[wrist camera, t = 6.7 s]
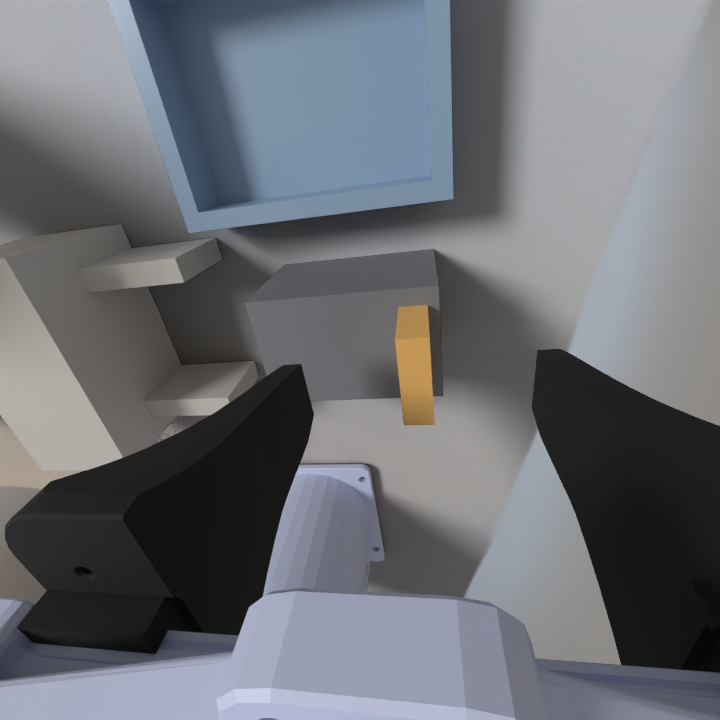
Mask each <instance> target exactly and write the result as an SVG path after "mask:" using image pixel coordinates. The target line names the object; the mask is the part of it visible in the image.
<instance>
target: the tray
mask: <svg viewBox="0 0 720 720" xmlns="http://www.w3.org/2000/svg"><path fill="white" fill-rule="evenodd" d="M108 3H109V6H110V9H111V11H112V14H113V17H114V20H115V23H116V26H117V29H118V32H119V34H120V37H121V40H122V43H123V46H124V49H125V52H126V55H127V57H128V60H129V63H130V66H131V69H132V72H133V75H134V78H135V80H136V83H137V86H138V89H139V92H140V95H141V98H142V101H143V103H144V106H145V109H146V112H147V115H148V118H149V121H150V124H151V126H152V129H153V132H154V135H155V138H156V141H157V144H158V147H159V149H160V152H161V155H162V158H163V161H164V164H165V167H166V170H167V172H168V175H169V178H170V181H171V184H172V187H173V190H174V193H175V195H176V198H177V201H178V204H179V207H180V210H181V213H182V216H183V218H184V221H185V224H186V227H187V230H188V233H194V232H202V231H210V230H217V229H225V228H233V227H241V226H248V225H256V224H264V223H272V222H279V221H287V220H295V219H303V218H310V217H318V216H326V215H334V214H341V213H349V212H357V211H365V210H373V209H380V208H388V207H396V206H404V205H411V204H419V203H427V202H435V201H442V200H450V199H453V147H452V91H451V35H450V0H108Z"/></svg>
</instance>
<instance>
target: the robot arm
mask: <svg viewBox="0 0 720 720" xmlns="http://www.w3.org/2000/svg"><path fill="white" fill-rule="evenodd" d="M532 409H533V413H534V416H535V420H536V423H537V427H538V430H539V433H540V436H541V438H542V441H543V443H544V445H545V447H546V450H547V452H548V454H549V456H550V458H551V460H552V462H553V465H554V467H555V469H556V471H557V473H558V475H559V478H560V480H561V482H562V484H563V486H564V488H565V490H566V492H567V495H568V497H569V499H570V501H571V504H572V506H573V509H574V511H575V513H576V516H577V519H578V522H579V525H580V528H581V531H582V534H583V536H584V540H585V543H586V546H587V548H588V552H589V555H590V558H591V561H592V564H593V567H594V571H595V574H596V577H597V580H598V583H599V587H600V590H601V594H602V597H603V601H604V604H605V607H606V610H607V614H608V618H609V621H610V625H611V628H612V631H613V635H614V639H615V642H616V646H617V650H618V654H619V658H620V661H621V665H612V664H599V663H587V662H574V661H573V662H572V661H561V660H547V659H535V656H534V652H533V647H532V643H531V641H530V639H529V636H528V633H527V631H526V628H525V625H524V624H523V623H521V622H520V621H519V620H517V619H516V618H515V617H513V616H511V615H509V614H508V613H506V612H504V611H503V610H501V609H500V608H498V607H496V606H495V605H493V604H491V603H488V602H483V601H478V600H473V599H468V598H463V597H458V596H444V595H424V594H405V593H385V592H367V589H368V580H369V571H370V562H371V561H377V562H379V561H382V560H384V555H385V553H384V547H383V541H382V536H381V530H380V524H379V518H378V513H377V507H376V501H375V495H374V489H373V484H372V478H371V472H370V469H369V467H368V466H366V465H364V464H320V465H300V462H301V459H302V456H303V454H304V451H305V448H306V445H307V443H308V439H309V435H310V431H311V426H312V421H313V416H314V413H313V409H312V405H311V401H310V397H309V393H308V389H307V385H306V381H305V377H304V373H303V369H302V365H301V364H292V365H283V366H281V367H279V368H278V369H276V370H275V371H273V372H272V373H270V374H269V375H268V376H266V377H265V378H263V379H262V380H261V381H259V382H258V383H257V384H255V385H254V386H253V387H251V388H250V389H248V390H247V391H246V392H244V393H243V394H242V395H240V396H239V397H237V398H236V399H234V400H233V401H231V402H230V403H228V404H227V405H225V406H224V407H222V408H221V409H219V410H218V411H216V412H215V413H213V414H212V415H210V416H208V417H207V418H205V419H203V420H202V421H200V422H198V423H196V424H195V425H193V426H191V427H189V428H187V429H185V430H184V431H182V432H180V433H178V434H176V435H173V436H171V437H169V438H167V439H165V440H163V441H161V442H159V443H156V444H154V445H152V446H150V447H148V448H146V449H143V450H141V451H138V452H136V453H133V454H131V455H128V456H126V457H123V458H121V459H118V460H115V461H113V462H110V463H107V464H104V465H101V466H99V467H95V468H92V469H89V470H86V471H83V472H80V473H77V474H73V475H70V476H67V477H64V478H61V479H57V480H54V481H51V482H50V483H49V484H47V485H46V486H45V487H44V488H43V489H42V490H41V491H40V492H39V493H38V494H37V495H36V496H35V497H34V498H32V499H31V500H30V501H29V502H28V503H27V504H26V505H25V506H24V507H23V508H22V509H21V510H20V511H19V512H17V513H16V514H15V515H14V516H13V517H12V518H11V519H10V521H9V522H8V523H7V524H6V526H5V539H6V542H7V544H8V547H9V549H10V550H11V551H12V553H13V554H14V555H15V557H16V558H17V559H18V560H19V561H20V562H21V563H22V564H23V565H24V566H25V568H26V569H27V570H28V571H29V572H30V573H31V574H32V575H33V576H34V577H35V578H36V579H37V581H38V582H39V583H40V584H41V585H42V586H43V587H44V588H45V589H46V590H47V591H46V592H45V594H44V595H43V596H42V597H41V599H40V600H39V601H38V602H37V603H36V605H34V604H33V603H31V602H28V601H26V600H22V599H14V598H0V720H720V426H718V425H715V424H712V423H710V422H707V421H704V420H702V419H699V418H696V417H694V416H692V415H689V414H687V413H684V412H682V411H680V410H677V409H674V408H672V407H669V406H667V405H665V404H663V403H661V402H659V401H656V400H654V399H652V398H650V397H648V396H646V395H644V394H642V393H640V392H638V391H636V390H634V389H632V388H630V387H628V386H626V385H624V384H622V383H620V382H619V381H617V380H615V379H613V378H611V377H609V376H608V375H606V374H604V373H602V372H601V371H599V370H597V369H596V368H594V367H592V366H590V365H589V364H587V363H585V362H584V361H582V360H580V359H578V358H577V357H575V356H573V355H571V354H570V353H568V352H566V351H564V350H562V349H551V350H538V352H537V362H536V372H535V382H534V392H533V402H532ZM362 477H365V478H362Z"/></svg>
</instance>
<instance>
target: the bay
mask: <svg viewBox="0 0 720 720" xmlns="http://www.w3.org/2000/svg"><path fill="white" fill-rule="evenodd" d="M221 259H222V257H221V253H220V250H219V247H218V244H217V241H216V238H209V239H201V240H193V241H185V242H177V243H169V244H161V245H153V246H145V247H137V248H131V245H130V243H129V241H128V238H127V236H126V234H125V231H124V229H123V226H122V224H117V225H110V226H103V227H95V228H88V229H81V230H74V231H67V232H59V233H52V234H45V235H38V236H32V237H28V238H25V239H21V240H17V241H13V242H9V243H5V244H1V245H0V415H1V417H2V418H3V419H4V421H5V422H6V423H7V425H8V426H9V427H10V429H11V430H12V431H13V433H14V434H15V435H16V437H17V438H18V439H19V441H20V442H21V443H22V445H23V446H24V447H25V449H26V450H27V451H28V453H29V454H30V455H31V457H32V458H33V459H34V461H35V462H36V463H37V465H38V466H39V467H40V469H41V470H42V471H46V470H89V469H92V468H95V467H99V466H101V465H104V464H107V463H110V462H113V461H115V460H118V459H121V458H123V457H126V456H128V455H131V454H133V453H136V452H138V451H141V450H143V449H146V448H148V447H150V446H152V445H153V444H154V442H155V441H156V440H157V439H158V438H159V437H160V435H161V434H162V433H163V432H164V431H165V430H166V428H167V427H168V426H169V425H170V424H171V423H172V421H173V420H174V419H175V418H176V417H177V416H201V415H212V414H213V413H215V412H216V411H218V410H219V409H221V408H222V407H224V406H225V405H227V404H228V403H230V402H231V401H233V400H234V399H236V398H237V397H239V396H240V395H242V394H243V393H244V392H246V391H247V390H248V389H250V388H251V387H252V386H253V385H254V383H255V382H256V380H257V379H258V377H259V374H258V371H257V367H256V364H255V361H243V362H226V363H209V364H193V365H181V362H180V360H179V358H178V355H177V353H176V351H175V348H174V346H173V344H172V341H171V339H170V337H169V334H168V332H167V330H166V327H165V325H164V323H163V320H162V318H161V316H160V313H159V311H158V309H157V306H156V304H155V302H154V299H153V297H152V294H151V292H150V290H149V287H148V286H156V285H166V284H175V283H184V282H186V281H188V280H189V279H191V278H192V277H194V276H196V275H197V274H199V273H200V272H202V271H204V270H205V269H207V268H208V267H210V266H212V265H213V264H215V263H216V262H218V261H220V260H221Z"/></svg>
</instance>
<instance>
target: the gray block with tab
mask: <svg viewBox="0 0 720 720" xmlns="http://www.w3.org/2000/svg"><path fill="white" fill-rule="evenodd" d="M244 304H245V307H246V310H247V314H248V317H249V320H250V323H251V327H252V330H253V333H254V337H255V340H256V343H257V347H258V350H259V353H260V356H261V360H262V363H263V366H264V370H265V373H266V376H268V375H269V374H270V373H272V372H273V371H275V370H276V369H278V368H279V367H281V366H283V365H292V364H301V365H302V369H303V373H304V377H305V381H306V385H307V389H308V393H309V397H310V401H324V400H351V399H378V398H401V402H402V412H403V421H404V425H434V407H433V396H443V380H442V355H441V329H440V303H439V283H438V277H437V270H436V263H435V256H434V249H428V250H419V251H409V252H400V253H391V254H381V255H372V256H362V257H353V258H344V259H334V260H325V261H315V262H306V263H297V264H287V265H284V266H283V267H281V268H280V269H279V270H278V271H277V272H276V273H275V274H274V275H273V276H272V277H271V278H270V279H269V280H268V281H267V282H266V283H265V284H264V285H263V286H261V287H260V288H259V289H258V290H257V291H256V292H255V293H254V294H253V295H252V296H251V297H250V298H249V299H248V300H247V301H246V302H245V303H244Z"/></svg>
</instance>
